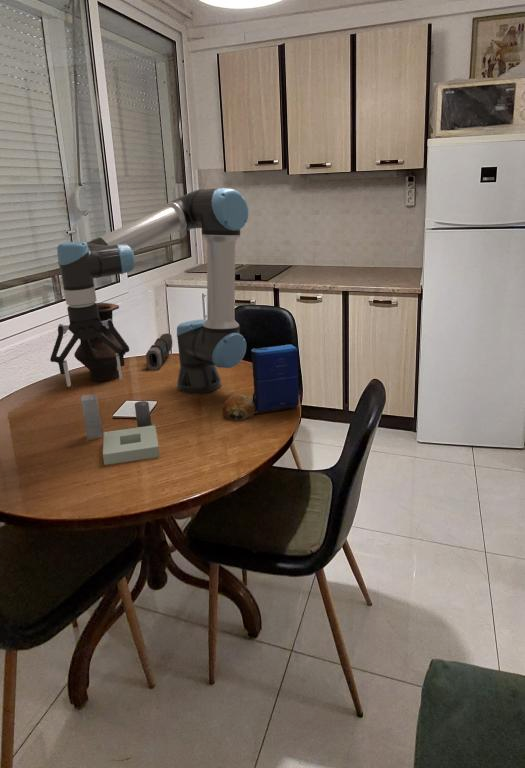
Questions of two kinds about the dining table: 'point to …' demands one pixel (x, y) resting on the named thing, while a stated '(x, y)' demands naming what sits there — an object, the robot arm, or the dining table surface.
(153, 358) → the tube
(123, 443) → the socket board
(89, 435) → the square peg
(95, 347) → the jug
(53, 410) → the dining table surface
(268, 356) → the book
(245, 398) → the bread roll
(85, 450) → the dining table surface
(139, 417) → the round peg
